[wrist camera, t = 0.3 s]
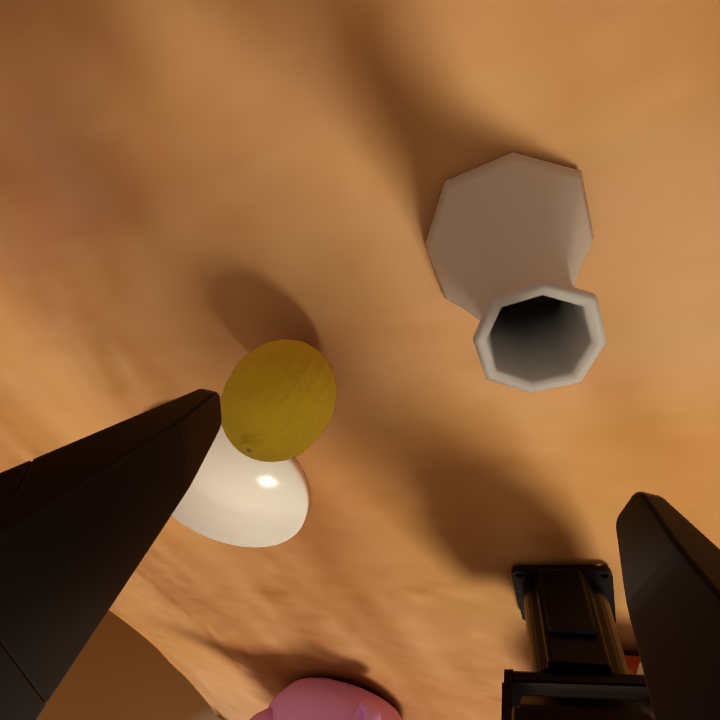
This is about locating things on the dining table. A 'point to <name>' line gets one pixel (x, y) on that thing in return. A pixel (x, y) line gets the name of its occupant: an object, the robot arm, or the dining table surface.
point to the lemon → (278, 400)
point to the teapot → (326, 703)
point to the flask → (520, 269)
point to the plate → (245, 498)
